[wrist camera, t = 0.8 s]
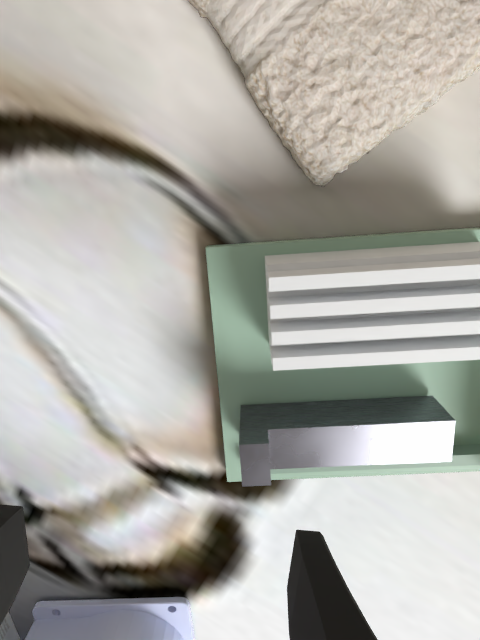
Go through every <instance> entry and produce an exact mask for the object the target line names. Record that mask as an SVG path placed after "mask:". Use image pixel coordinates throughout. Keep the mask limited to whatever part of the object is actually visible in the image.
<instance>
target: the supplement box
mask: <svg viewBox="0 0 480 640" xmlns="http://www.w3.org/2000/svg"><path fill="white" fill-rule="evenodd" d="M0 640H21V639H20V637H19V635H18V632H17V630H16V628H15V625H14V623H13V620H12V618H11V616H10V613H9V611H8V613H7V615H6V617H5V618H4V620H3V622H2V624H1V625H0Z"/></svg>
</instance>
